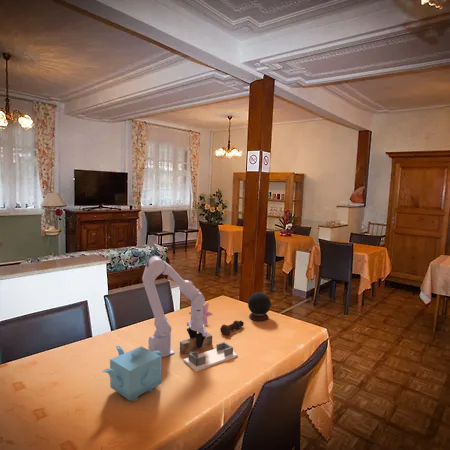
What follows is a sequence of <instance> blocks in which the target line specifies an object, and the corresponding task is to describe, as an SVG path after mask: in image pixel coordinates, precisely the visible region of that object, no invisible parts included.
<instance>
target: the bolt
mask: <svg viewBox="0 0 450 450" xmlns="http://www.w3.org/2000/svg"><path fill="white" fill-rule="evenodd" d="M244 325H245V323H244V321H243V320H234V321H233V323H230V324H229V325H228V324H227V325H226V323H225V324H222V325H221V326H220V333H221V335H223V336H224V337H225V336H226V337H227V336H229V335H230V333H231V332H232V331H234V330H235V331H239V330H240V329H241V327H244Z"/></svg>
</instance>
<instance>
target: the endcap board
mask: <svg viewBox="0 0 450 450" xmlns="http://www.w3.org/2000/svg"><path fill="white" fill-rule="evenodd" d="M238 356H239V355H238V353H236V352H235V351H234V347H233V346H231V345H230V344H229V343H227V342H226V341H223V342H219V343H217V344H216V347H215V348H212V349H210V350H207V351H203V352H201V353H199V350H195V351H192V352H189V353H188V357H186V358H183V362H184V363H185V364H186V365H187V366H188V367H190V368H191V369H193V370H194V371H195V372H199V371H202V370H204V369H207V368H209V367H213V366H215V365H218V364H220V363H223V362H224V363H225V362H227V361H228V360H232V359H235V358H237V357H238Z"/></svg>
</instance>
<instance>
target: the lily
mask: <svg viewBox="0 0 450 450" xmlns="http://www.w3.org/2000/svg"><path fill="white" fill-rule="evenodd" d="M208 310H209V302H207V303H204V304H203V324H204V325H205V326H207V325H208V317H210V316H213V313H212V312H211V311H208ZM188 314H189V316H191V311H189V312H188Z"/></svg>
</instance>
